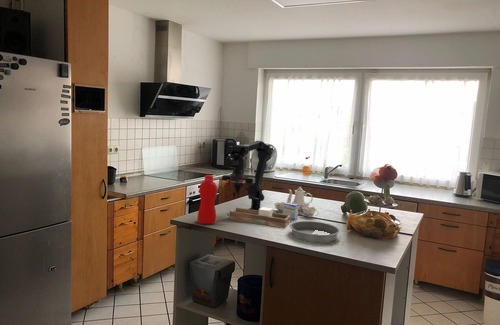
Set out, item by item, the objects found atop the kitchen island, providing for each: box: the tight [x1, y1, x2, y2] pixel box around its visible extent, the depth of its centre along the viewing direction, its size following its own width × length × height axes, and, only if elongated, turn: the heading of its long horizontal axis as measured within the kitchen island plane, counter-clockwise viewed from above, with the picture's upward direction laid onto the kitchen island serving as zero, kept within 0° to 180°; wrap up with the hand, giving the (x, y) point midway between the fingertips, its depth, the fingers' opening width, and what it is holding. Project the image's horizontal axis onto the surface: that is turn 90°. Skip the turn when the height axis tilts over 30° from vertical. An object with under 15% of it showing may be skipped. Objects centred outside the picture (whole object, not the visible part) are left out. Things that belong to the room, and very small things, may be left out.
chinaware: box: [274, 186, 319, 218], centre depth 236 cm, size 28×17×17 cm, turn 69°
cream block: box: [259, 206, 273, 217], centre depth 213 cm, size 6×6×5 cm
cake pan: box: [289, 220, 341, 243], centre depth 192 cm, size 25×25×4 cm
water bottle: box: [197, 174, 218, 225], centre depth 203 cm, size 9×11×25 cm
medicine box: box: [282, 201, 299, 221], centre depth 223 cm, size 8×4×9 cm, turn 62°
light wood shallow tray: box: [227, 207, 292, 229], centre depth 214 cm, size 14×32×4 cm, turn 72°
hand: (237, 193), depth 223 cm, fingers closed
